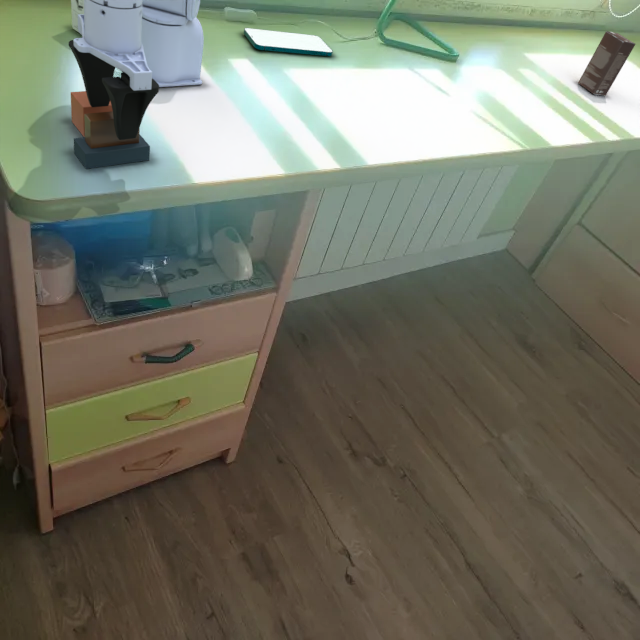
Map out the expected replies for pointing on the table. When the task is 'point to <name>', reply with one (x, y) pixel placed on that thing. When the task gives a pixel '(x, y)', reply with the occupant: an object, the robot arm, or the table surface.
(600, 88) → the box
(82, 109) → the reddish-orange block
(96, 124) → the stepped two-tone block
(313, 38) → the smartphone
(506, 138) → the table surface
